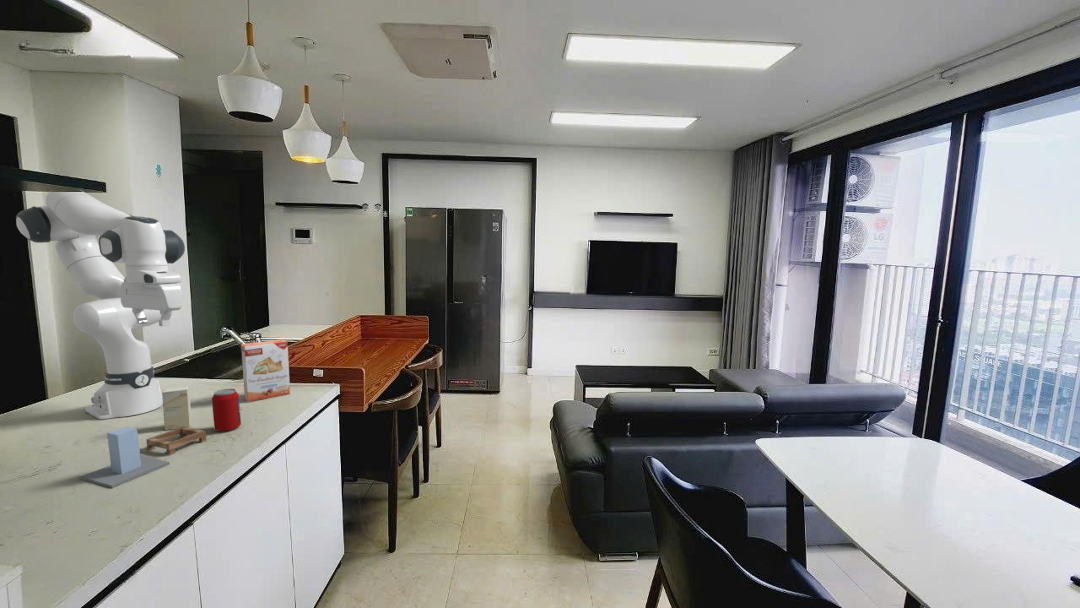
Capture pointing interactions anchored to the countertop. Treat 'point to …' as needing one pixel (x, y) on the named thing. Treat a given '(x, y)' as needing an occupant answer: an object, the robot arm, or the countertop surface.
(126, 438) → the peg
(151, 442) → the wooden square frame
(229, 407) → the beverage can
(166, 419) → the skincare box
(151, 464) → the mat
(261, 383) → the cracker box
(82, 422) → the countertop surface
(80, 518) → the countertop surface
